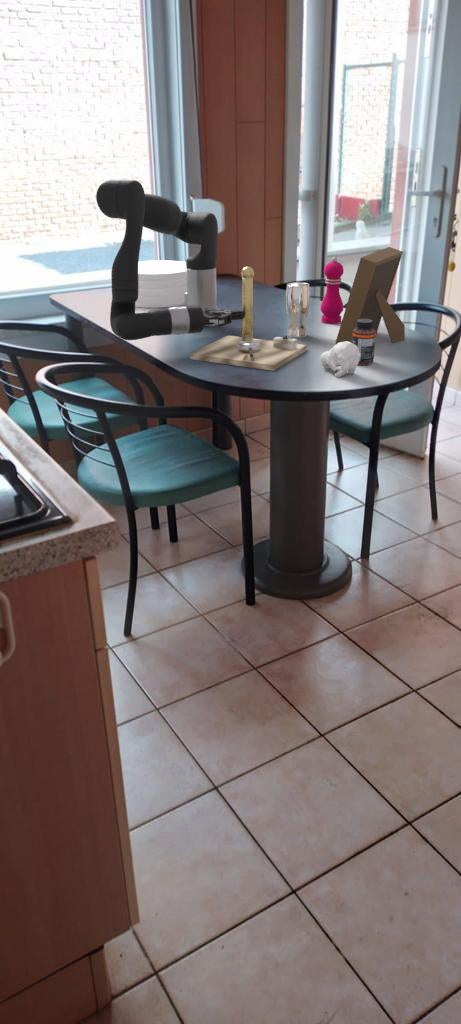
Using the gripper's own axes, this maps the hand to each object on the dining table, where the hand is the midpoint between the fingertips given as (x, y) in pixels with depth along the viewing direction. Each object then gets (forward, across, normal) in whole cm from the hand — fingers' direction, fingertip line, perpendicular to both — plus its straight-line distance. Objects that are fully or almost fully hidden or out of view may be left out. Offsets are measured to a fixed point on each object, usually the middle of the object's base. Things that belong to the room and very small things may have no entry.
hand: (242, 314), depth 219 cm
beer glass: (+19, +4, +9) cm, 22 cm away
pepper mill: (+37, +16, +9) cm, 41 cm away
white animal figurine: (+13, -33, +9) cm, 37 cm away
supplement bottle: (+23, -28, +9) cm, 38 cm away
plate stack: (-4, +72, +10) cm, 73 cm away
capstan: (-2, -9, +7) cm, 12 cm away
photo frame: (+37, -11, +9) cm, 39 cm away
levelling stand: (-2, -9, +9) cm, 13 cm away
